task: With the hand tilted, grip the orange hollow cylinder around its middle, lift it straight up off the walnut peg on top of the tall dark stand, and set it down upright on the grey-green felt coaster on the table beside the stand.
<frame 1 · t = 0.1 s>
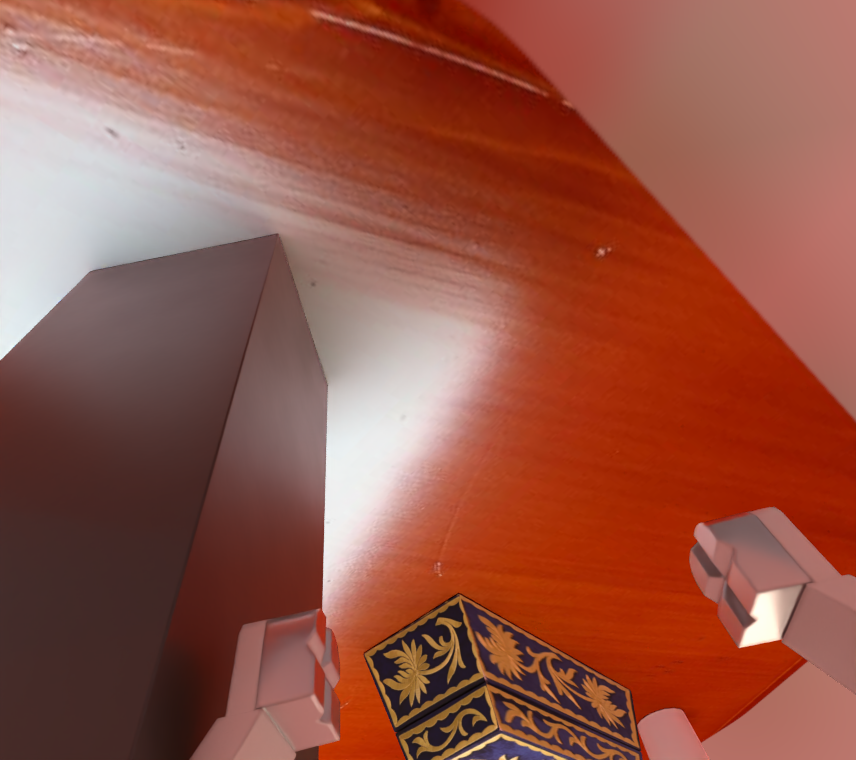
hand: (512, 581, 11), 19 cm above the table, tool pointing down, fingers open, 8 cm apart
peg stand: (220, 334, 27), on the table
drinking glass: (659, 718, 63), on the table
decorative box: (512, 672, 52), on the table
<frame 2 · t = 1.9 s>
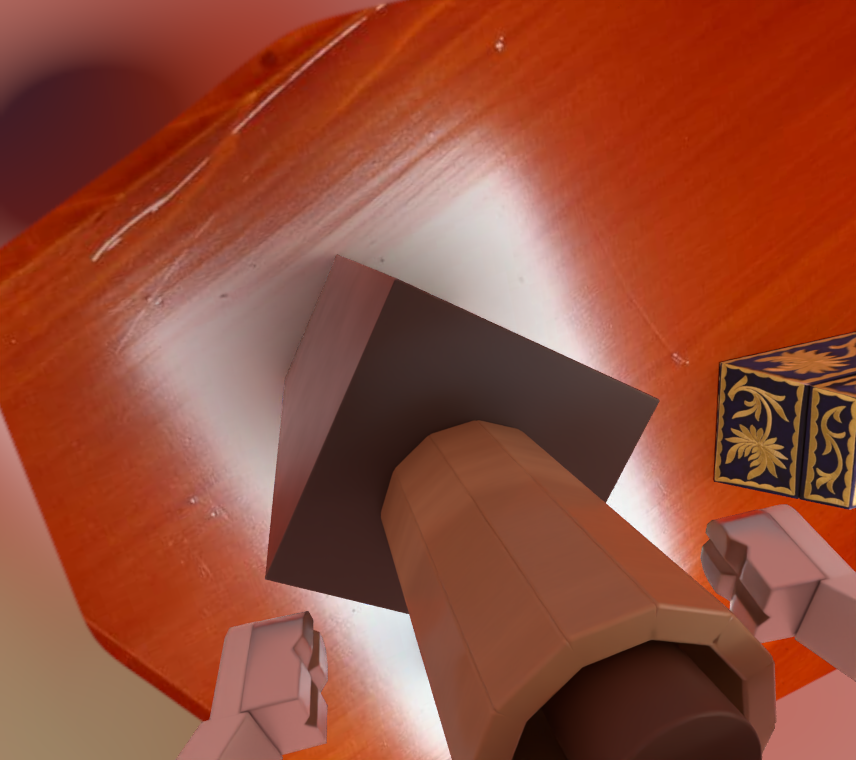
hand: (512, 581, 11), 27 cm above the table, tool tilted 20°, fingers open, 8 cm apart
peg stand: (372, 343, 36), on the table
orange hollow cylinder: (470, 505, 15), point 22 cm above the table, touching peg stand
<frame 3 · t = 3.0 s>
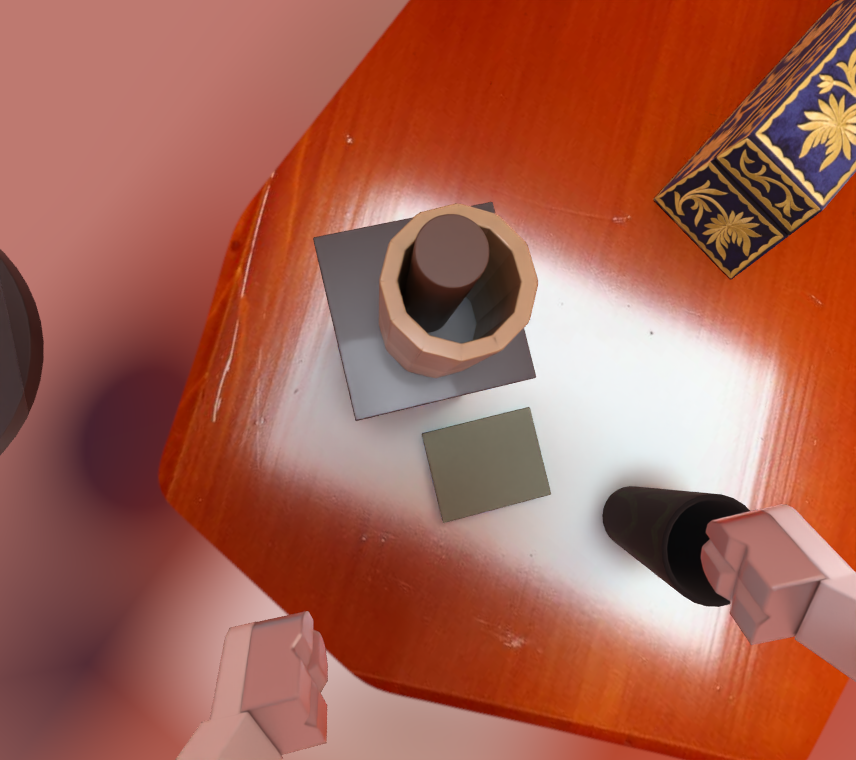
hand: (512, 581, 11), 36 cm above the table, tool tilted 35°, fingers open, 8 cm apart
peg stand: (403, 357, 47), on the table
cup: (630, 516, 49), on the table
orange hollow cylinder: (434, 323, 25), point 22 cm above the table, touching peg stand
decorative box: (782, 137, 53), on the table
felt coaster: (485, 463, 47), on the table
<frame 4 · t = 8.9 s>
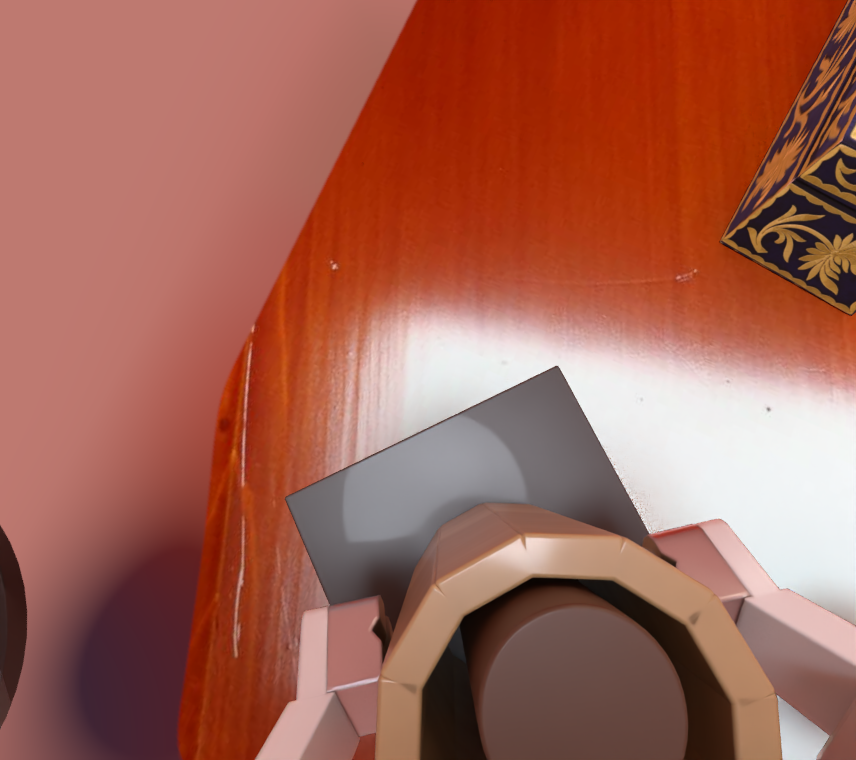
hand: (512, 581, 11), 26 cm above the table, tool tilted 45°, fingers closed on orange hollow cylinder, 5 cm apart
peg stand: (457, 516, 36), on the table
orange hollow cylinder: (506, 599, 15), point 22 cm above the table, touching gripper, peg stand
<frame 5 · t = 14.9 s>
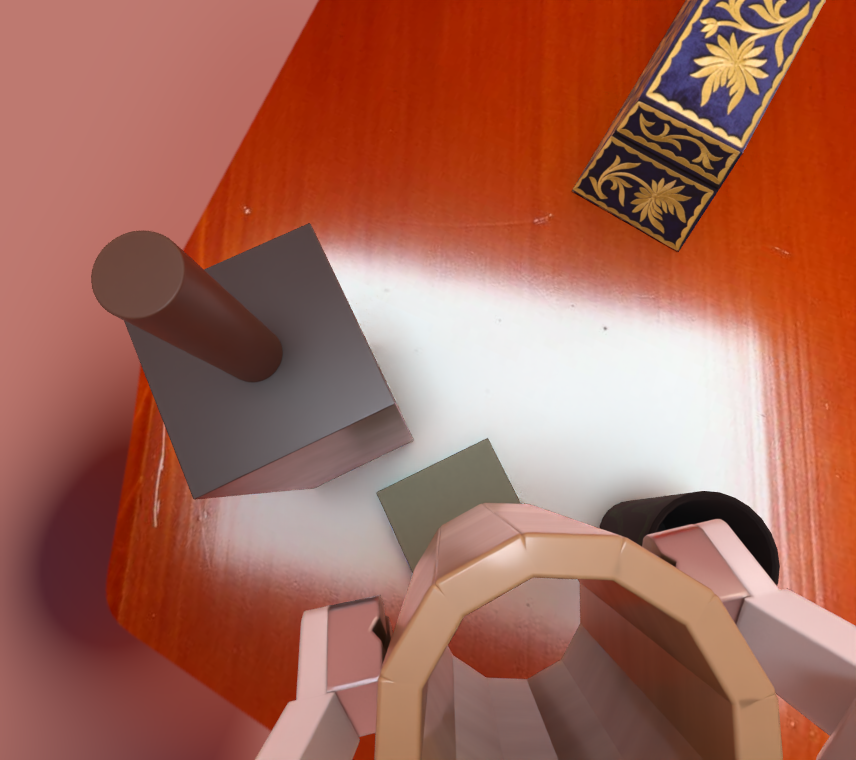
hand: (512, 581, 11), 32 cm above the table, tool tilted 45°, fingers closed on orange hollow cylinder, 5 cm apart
peg stand: (341, 414, 44), on the table
cup: (632, 536, 42), on the table
orange hollow cylinder: (506, 599, 15), point 28 cm above the table, touching gripper
decorative box: (695, 96, 49), on the table
felt coaster: (454, 510, 42), on the table
when the fingers open (5 cm above the table, at t = 21.2 s): orange hollow cylinder stays where it is, resting on felt coaster.
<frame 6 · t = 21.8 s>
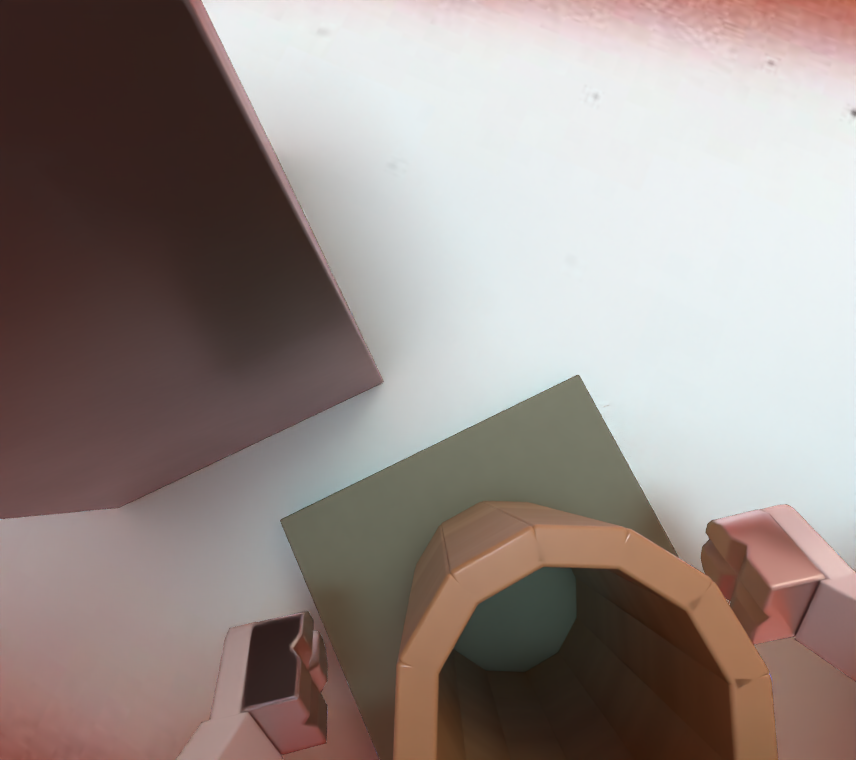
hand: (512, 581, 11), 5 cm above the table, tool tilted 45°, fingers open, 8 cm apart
peg stand: (201, 319, 17), on the table
orange hollow cylinder: (505, 594, 15), point 1 cm above the table, touching felt coaster
felt coaster: (491, 567, 16), on the table
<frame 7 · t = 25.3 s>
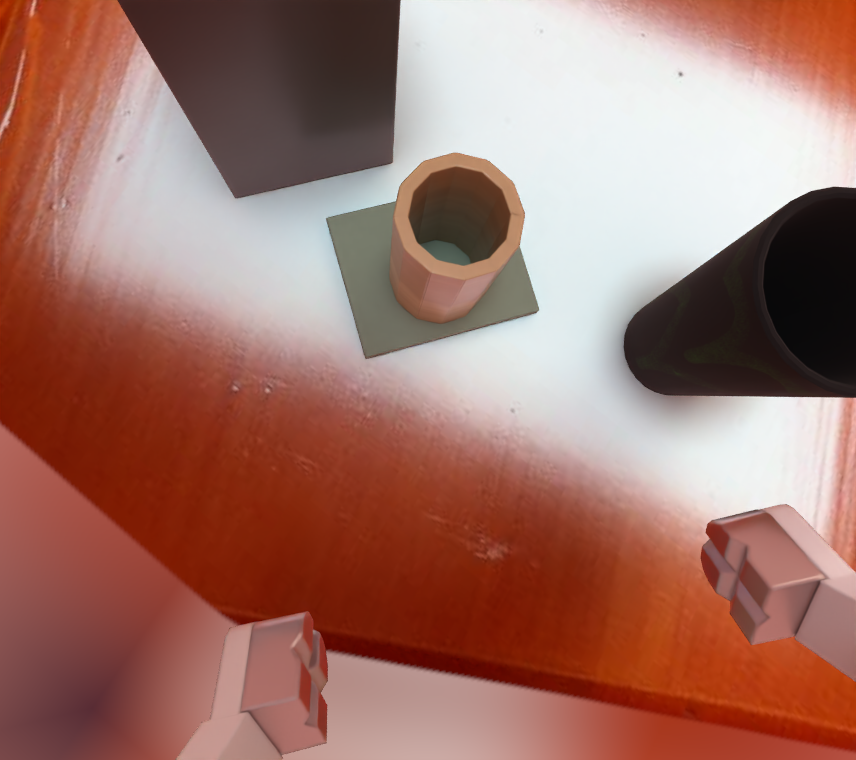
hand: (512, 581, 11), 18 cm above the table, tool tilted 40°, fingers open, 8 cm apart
peg stand: (294, 107, 30), on the table
cup: (668, 348, 31), on the table
orange hollow cylinder: (437, 276, 29), point 1 cm above the table, touching felt coaster
felt coaster: (432, 267, 30), on the table
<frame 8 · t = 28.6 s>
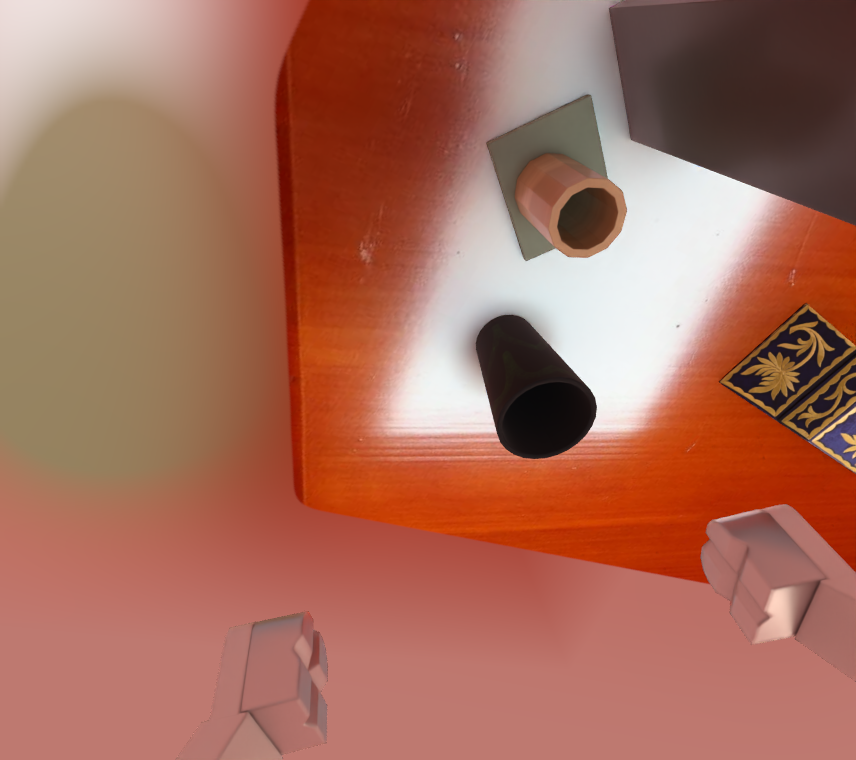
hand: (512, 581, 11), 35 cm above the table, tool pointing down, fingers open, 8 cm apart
peg stand: (680, 49, 38), on the table
cup: (504, 340, 49), on the table
orange hollow cylinder: (547, 188, 41), point 1 cm above the table, touching felt coaster
decorative box: (832, 398, 60), on the table
felt coaster: (553, 182, 42), on the table
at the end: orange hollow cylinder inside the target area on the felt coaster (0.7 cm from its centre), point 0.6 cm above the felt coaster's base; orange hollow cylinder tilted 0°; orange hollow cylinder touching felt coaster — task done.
